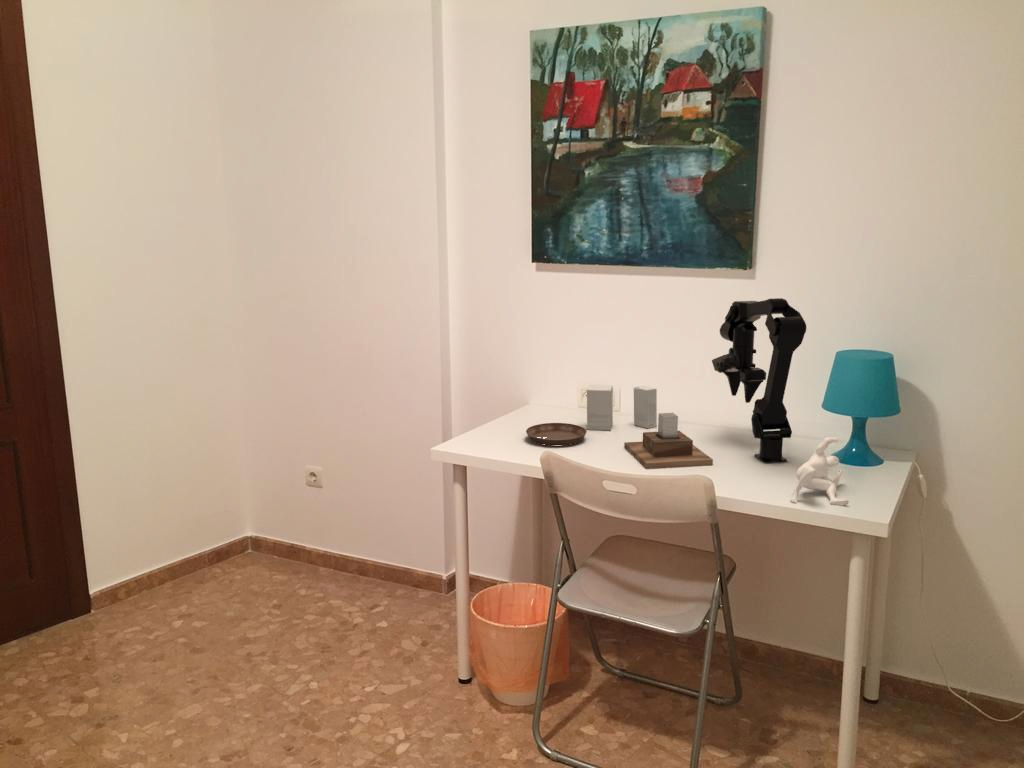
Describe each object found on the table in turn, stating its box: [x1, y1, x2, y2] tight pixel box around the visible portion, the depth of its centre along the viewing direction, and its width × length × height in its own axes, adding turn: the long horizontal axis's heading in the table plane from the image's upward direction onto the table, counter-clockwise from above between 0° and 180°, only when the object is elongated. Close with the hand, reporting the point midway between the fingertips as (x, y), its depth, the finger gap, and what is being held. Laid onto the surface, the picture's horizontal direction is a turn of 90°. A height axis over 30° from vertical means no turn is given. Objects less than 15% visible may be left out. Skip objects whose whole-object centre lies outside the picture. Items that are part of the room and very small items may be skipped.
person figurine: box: [790, 436, 850, 506], centre depth 196 cm, size 13×13×18 cm
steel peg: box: [657, 412, 679, 440], centre depth 226 cm, size 4×4×10 cm
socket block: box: [623, 430, 714, 470], centre depth 226 cm, size 20×18×6 cm
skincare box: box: [633, 385, 658, 429], centre depth 257 cm, size 6×4×12 cm
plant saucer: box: [525, 422, 588, 447], centre depth 244 cm, size 18×18×3 cm
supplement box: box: [586, 384, 614, 431], centre depth 256 cm, size 7×7×13 cm
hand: (740, 399), depth 240 cm, fingers open, 9 cm apart
